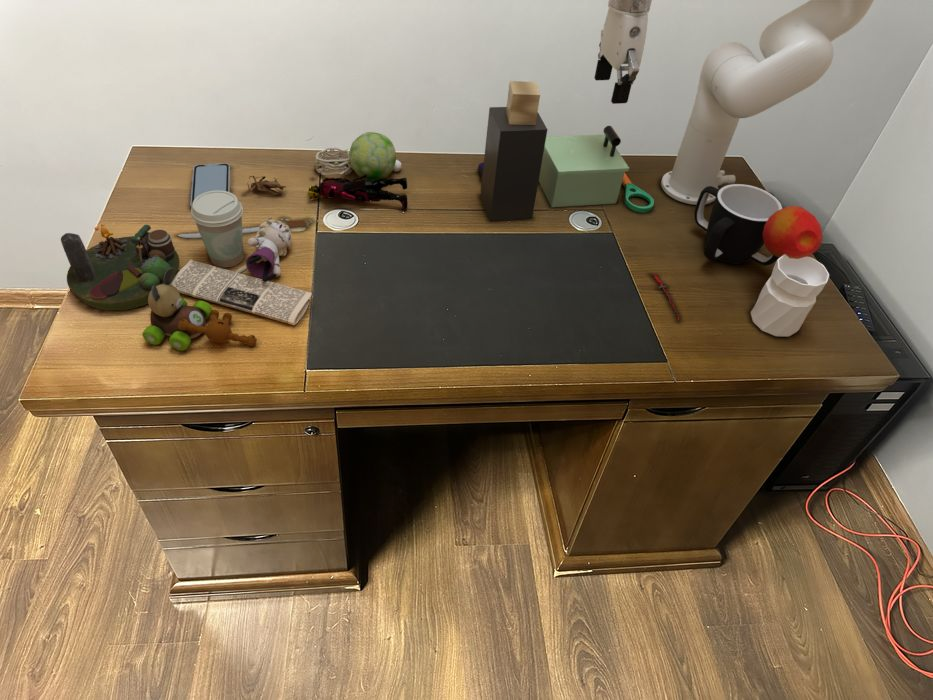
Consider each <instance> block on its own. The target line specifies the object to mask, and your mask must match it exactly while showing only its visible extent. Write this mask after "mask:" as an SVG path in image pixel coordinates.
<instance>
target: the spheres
mask: <svg viewBox="0 0 933 700" xmlns="http://www.w3.org/2000/svg"><path fill="white" fill-rule="evenodd" d="M402 166H403V165H402V162H401V161H400V160H399V159H396V163H395V167H394V169H393V171H392V172H394V173H395V172H396V173H398V172H399V171H401V170H402Z"/></svg>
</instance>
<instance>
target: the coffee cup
mask: <svg viewBox="0 0 933 700" xmlns="http://www.w3.org/2000/svg"><path fill="white" fill-rule="evenodd" d="M190 208H191V207H190ZM243 212H244V207H243V206H242V203H241V201H239V198H238V197H237V196H236V195H235V194H234V193H232V192H231V191H230V192H227V191H220V190H216V191H209V192H205V193H203V194H201V195H199V196H197V197H196V198H195V199H194V201H193V203H192V208H191V209H190V216H191V219H192V220H193V221H194V222H195V225H196V228H197V229H198V233H200V235H201V237H202V239H201V240H202V242H203V244H204V247H205V250H206V251H207V254H208V257H209V259H210V262H211V263H212V264H213V266H215V267H219V268H233V267H236V266H237V265H239V264H240V263H242V262H243V260H244V258H245V257H244V256H245V255H244V254H245V253H244V252H245V251H244V234H243V232H242V228H243V218H242V215H243Z"/></svg>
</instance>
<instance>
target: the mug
mask: <svg viewBox="0 0 933 700" xmlns="http://www.w3.org/2000/svg"><path fill="white" fill-rule="evenodd" d="M709 194H711V195H713V196H715V197H716V198H715V200H714V201H713V204H712V207H711V211H710V214H709V218H708V220H706V219H705V217H704V212H705V211H704V210H705V207H706V205H707V204H706V201H707V199H708V196H709ZM780 209H783V206H782V203H781V202H780V200H778V199H777V198H776V196H775V195H774V193H772V192H769V191H767V190H764V189H762V188H760V187H757V186H755V185H750V184H743V183H734V184H726V185H724V186H723V187H721V188H720V189H719V188H718V189H717V188H715V187H712V186H708V187H705V188H704V189H703V190H702V191H701V193H700V196H699V198H698V201H697V204H696V205H695V208H694V212H693V213H694V221H695V224H696V225H697V226H698V227H699V228H701V229H702V230H704V231H705V232H706V234H705V246H704V249H703V254H704V256H705V258H706V259H708V260H711V261H714V260H719V261H720V262H723V263H727V264H732V265H741V264H745V263H748V262H750V261H751V260H752V261H754V262H756V263H757V264H760V265H762V266H770V265H773V264H775V263H776V261H777V259H779V258H778V257H776V256H774V255H773V254H771V255H770V256H769V257H768V256H765V255H763V254H761V253H760V252H759V251H760V250H761V248H763V246H764V245H765V244H764V239H763V230H764V225H765V224H766V222H767V220H768V219H769V217H770V216H771V215H773V214H774V213H775V212H776V211H778V210H780Z"/></svg>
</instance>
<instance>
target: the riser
mask: <svg viewBox="0 0 933 700" xmlns="http://www.w3.org/2000/svg"><path fill="white" fill-rule="evenodd" d="M506 107H507V106H491V107H489V109H488V118H487V126H486V138H485V146H484V157H483V162H484V165H483V175H482V177H481V185H480V195H479V196H480V199H481V202H482V204H483V207H484V210H485V212H486V215H487V218H488V220H489V222H497V221H498V222H500V221H515V220H530V219H531V220H532V219H533V217H534V216H533V215H534V209H535V204H536V199H537V193H538V187H539V176H540V170H541V164H542V158H543V153H544V147H545V141H546V137H547V134H548V128H547V126H546V124H545V122H544V121H543V118H542V117H541V115H540V113H539V111H538V112H537V118H536V124H535V125H511V124H509V122H508V118H507V114H506Z"/></svg>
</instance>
